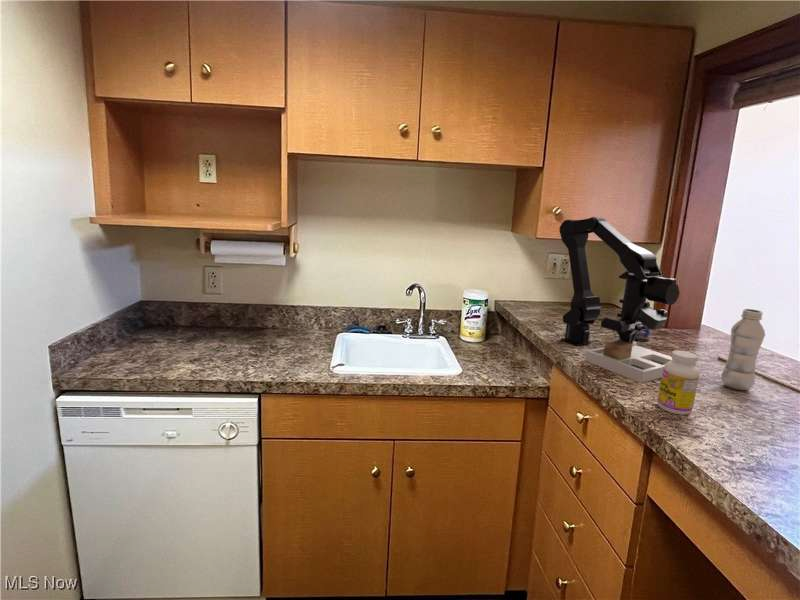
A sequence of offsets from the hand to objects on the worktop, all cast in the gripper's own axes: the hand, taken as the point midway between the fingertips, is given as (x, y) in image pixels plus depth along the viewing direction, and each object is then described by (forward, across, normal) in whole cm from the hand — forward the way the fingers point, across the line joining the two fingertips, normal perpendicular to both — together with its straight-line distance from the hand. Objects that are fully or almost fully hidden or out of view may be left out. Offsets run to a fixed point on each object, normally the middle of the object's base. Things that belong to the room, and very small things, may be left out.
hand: (626, 350), depth 127 cm
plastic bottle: (+3, +8, -24) cm, 26 cm away
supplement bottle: (+3, -19, -24) cm, 31 cm away
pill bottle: (+3, +25, +11) cm, 27 cm away
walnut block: (+1, -4, 0) cm, 4 cm away
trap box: (+3, 0, -4) cm, 5 cm away
